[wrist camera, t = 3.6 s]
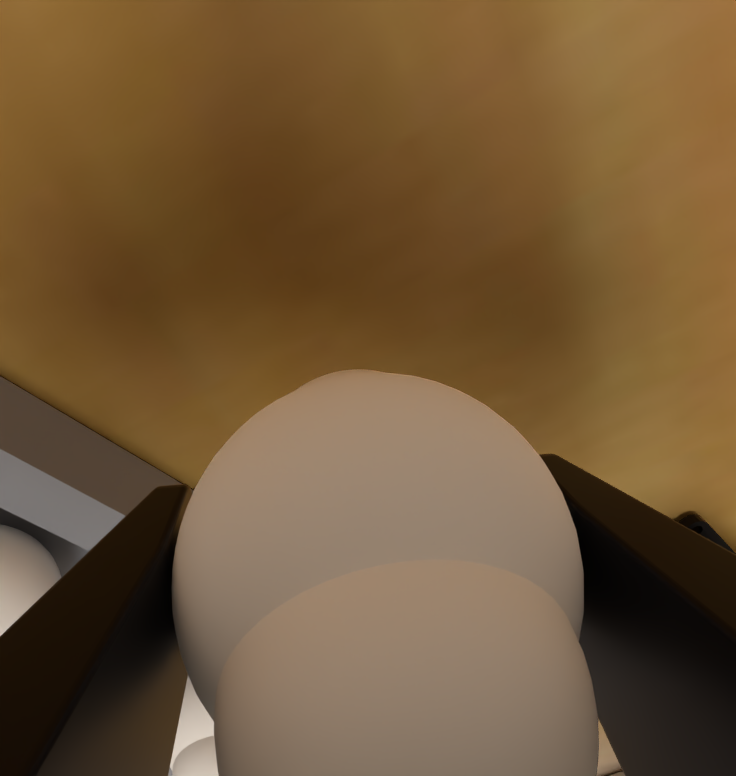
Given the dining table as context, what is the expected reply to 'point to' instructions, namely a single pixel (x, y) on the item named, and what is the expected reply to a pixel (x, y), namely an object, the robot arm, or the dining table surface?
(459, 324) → the dining table surface
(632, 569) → the robot arm
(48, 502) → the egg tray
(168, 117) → the dining table surface
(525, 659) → the cream game piece
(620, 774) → the ramekin
